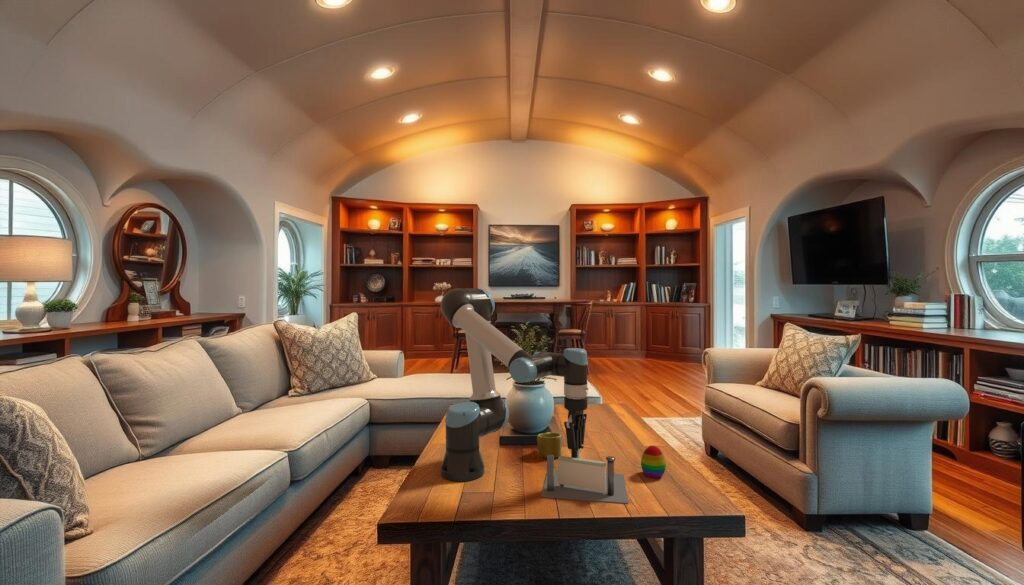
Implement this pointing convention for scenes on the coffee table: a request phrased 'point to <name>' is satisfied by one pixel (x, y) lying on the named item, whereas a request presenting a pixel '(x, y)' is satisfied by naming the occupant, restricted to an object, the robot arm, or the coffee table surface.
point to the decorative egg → (653, 462)
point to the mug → (549, 444)
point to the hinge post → (610, 475)
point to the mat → (588, 491)
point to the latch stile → (550, 472)
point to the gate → (582, 473)
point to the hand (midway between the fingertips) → (576, 468)
